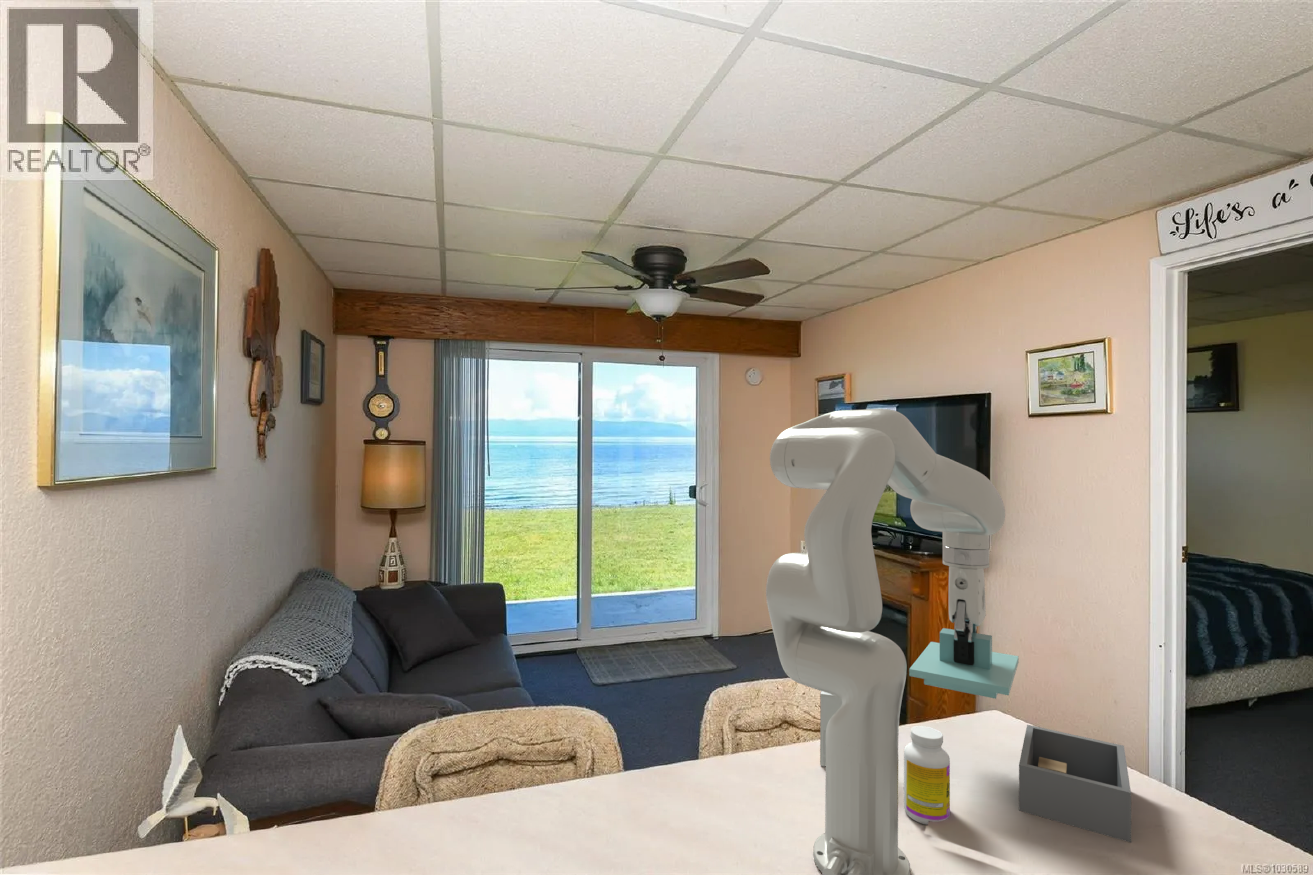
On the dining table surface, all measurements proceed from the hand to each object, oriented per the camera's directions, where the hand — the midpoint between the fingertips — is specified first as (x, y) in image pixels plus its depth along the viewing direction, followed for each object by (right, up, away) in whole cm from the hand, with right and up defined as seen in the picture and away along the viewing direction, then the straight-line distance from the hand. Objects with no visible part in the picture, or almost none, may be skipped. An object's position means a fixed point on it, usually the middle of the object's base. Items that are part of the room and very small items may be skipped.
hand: (965, 659), depth 112 cm
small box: (-21, -20, +4) cm, 30 cm away
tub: (+12, -20, -10) cm, 26 cm away
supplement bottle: (-13, -20, -14) cm, 27 cm away
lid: (0, -3, 0) cm, 3 cm away
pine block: (+12, -19, -5) cm, 23 cm away
